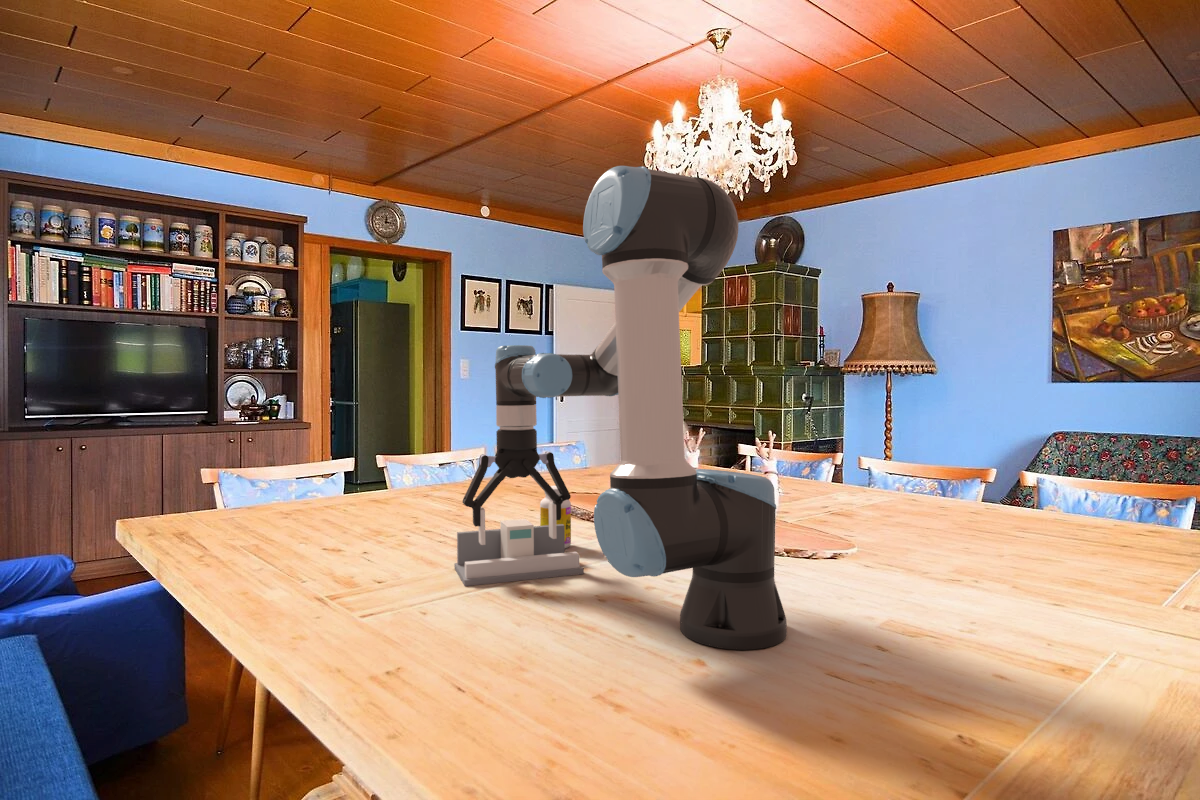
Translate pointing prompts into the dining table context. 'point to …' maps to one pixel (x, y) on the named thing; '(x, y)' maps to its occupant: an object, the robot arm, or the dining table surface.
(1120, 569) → the dining table surface
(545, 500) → the supplement bottle
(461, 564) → the rail base
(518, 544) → the block
